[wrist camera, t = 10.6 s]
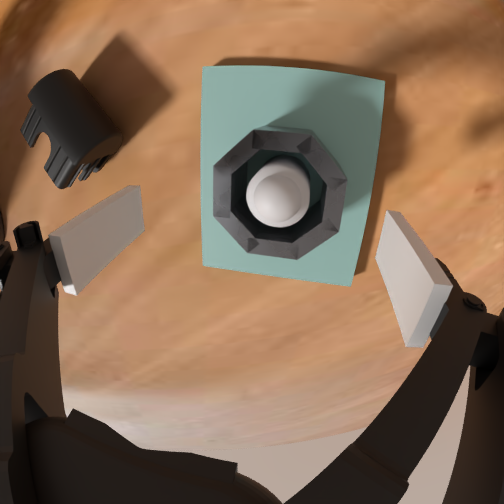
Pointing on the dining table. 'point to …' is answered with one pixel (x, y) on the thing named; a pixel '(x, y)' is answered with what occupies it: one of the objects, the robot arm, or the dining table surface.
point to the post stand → (290, 160)
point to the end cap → (70, 128)
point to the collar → (235, 189)
